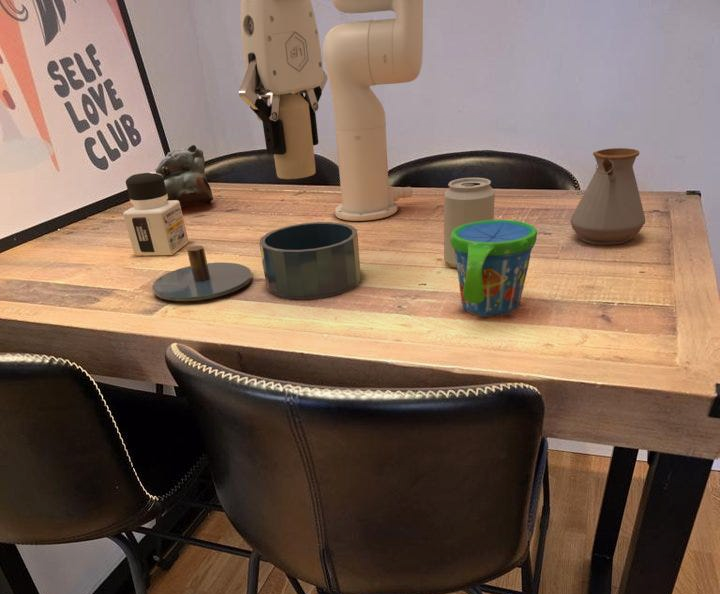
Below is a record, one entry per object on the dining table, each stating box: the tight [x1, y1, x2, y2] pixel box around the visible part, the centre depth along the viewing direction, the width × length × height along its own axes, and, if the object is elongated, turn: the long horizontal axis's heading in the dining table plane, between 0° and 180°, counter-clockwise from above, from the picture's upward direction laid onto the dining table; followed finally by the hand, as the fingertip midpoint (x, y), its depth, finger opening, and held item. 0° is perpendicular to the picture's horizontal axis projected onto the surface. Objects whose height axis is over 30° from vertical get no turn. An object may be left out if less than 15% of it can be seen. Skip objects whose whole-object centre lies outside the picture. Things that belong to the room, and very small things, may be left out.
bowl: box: [258, 221, 362, 301], centre depth 98 cm, size 15×15×7 cm
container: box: [122, 171, 189, 257], centre depth 117 cm, size 8×8×13 cm
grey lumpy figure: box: [155, 144, 214, 207], centre depth 144 cm, size 15×12×14 cm
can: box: [443, 177, 496, 269], centre depth 99 cm, size 8×8×12 cm
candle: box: [267, 92, 317, 180], centre depth 88 cm, size 6×6×10 cm
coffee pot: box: [570, 147, 646, 246], centre depth 99 cm, size 21×12×15 cm, turn 156°
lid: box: [151, 245, 253, 302], centre depth 101 cm, size 16×16×6 cm
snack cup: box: [450, 219, 538, 318], centre depth 84 cm, size 16×10×10 cm
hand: (293, 147), depth 89 cm, fingers closed on candle, 5 cm apart
